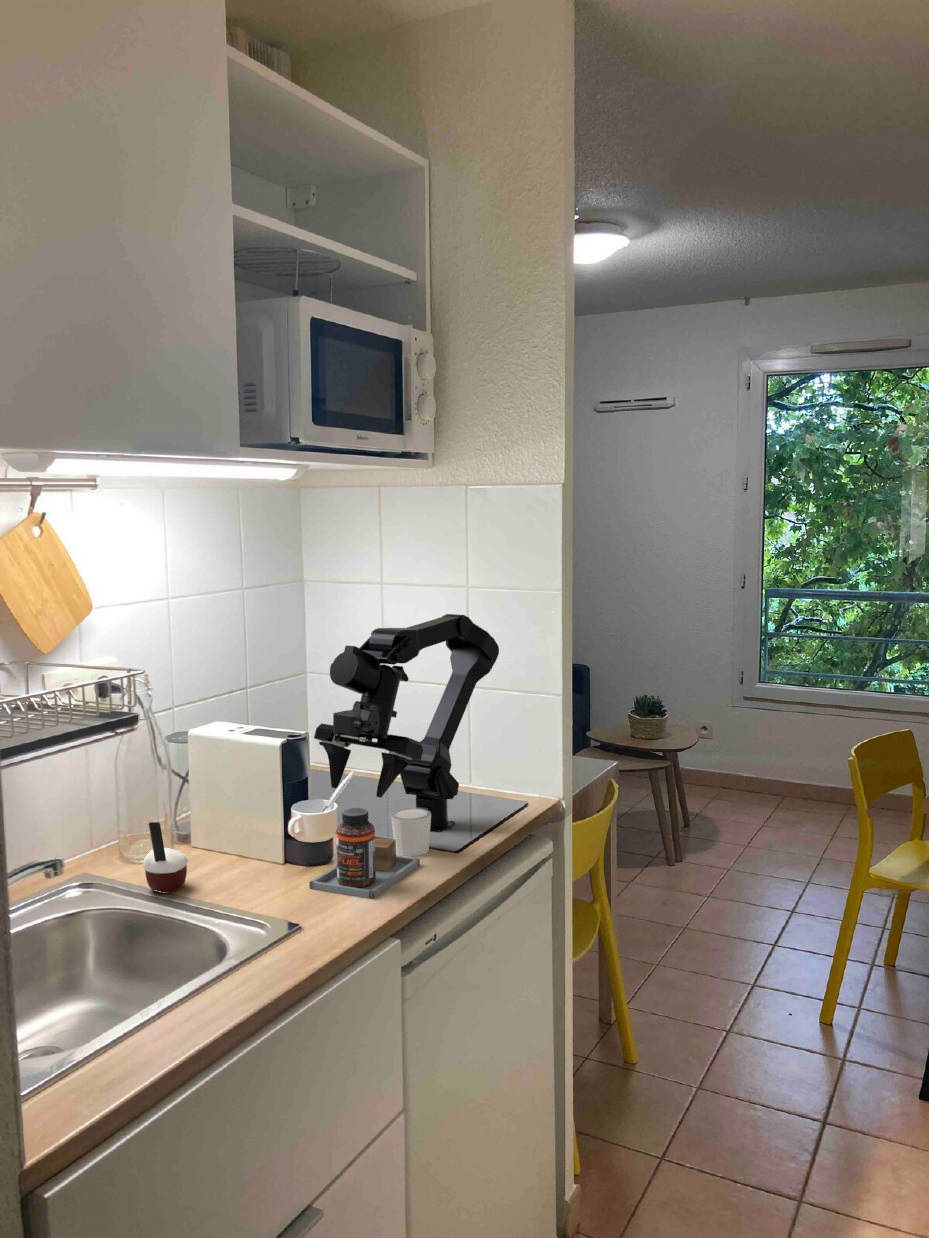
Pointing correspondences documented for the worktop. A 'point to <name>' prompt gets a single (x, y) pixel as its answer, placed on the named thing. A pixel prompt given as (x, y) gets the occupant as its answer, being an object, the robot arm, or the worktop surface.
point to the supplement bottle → (355, 849)
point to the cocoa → (164, 864)
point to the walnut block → (385, 854)
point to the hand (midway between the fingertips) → (356, 792)
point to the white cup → (411, 831)
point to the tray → (380, 884)
